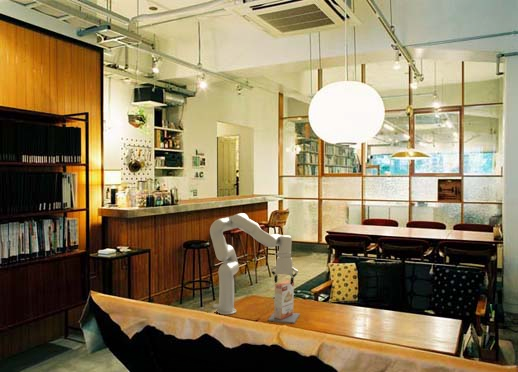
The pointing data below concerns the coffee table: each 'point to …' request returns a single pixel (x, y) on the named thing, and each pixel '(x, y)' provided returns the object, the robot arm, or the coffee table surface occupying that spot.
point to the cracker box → (283, 299)
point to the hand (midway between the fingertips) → (283, 283)
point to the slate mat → (288, 319)
